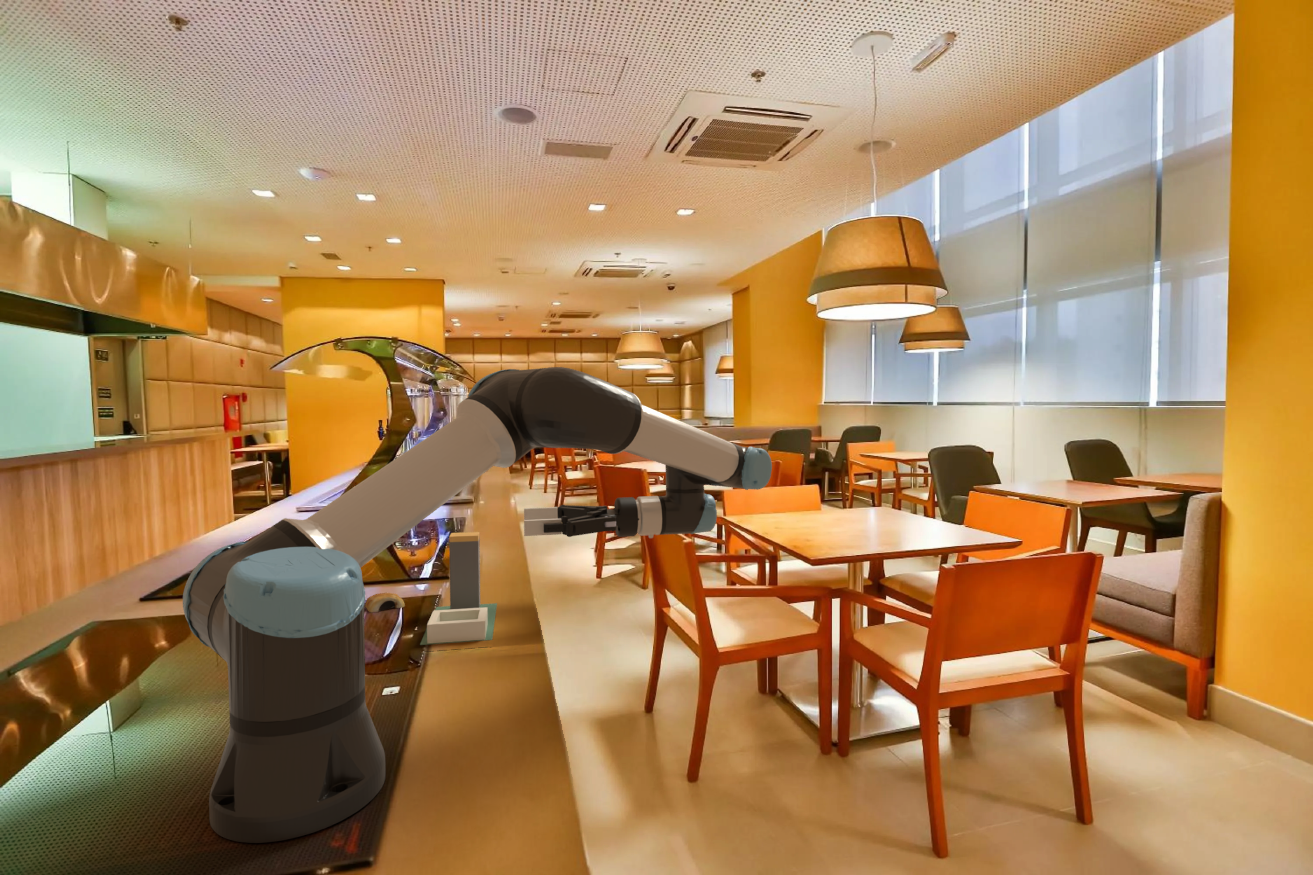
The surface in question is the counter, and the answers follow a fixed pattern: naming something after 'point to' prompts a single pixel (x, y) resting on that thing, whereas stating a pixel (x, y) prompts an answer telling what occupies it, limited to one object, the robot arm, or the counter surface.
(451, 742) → the counter surface
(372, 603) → the pastry
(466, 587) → the plug
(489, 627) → the board
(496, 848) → the counter surface
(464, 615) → the header
